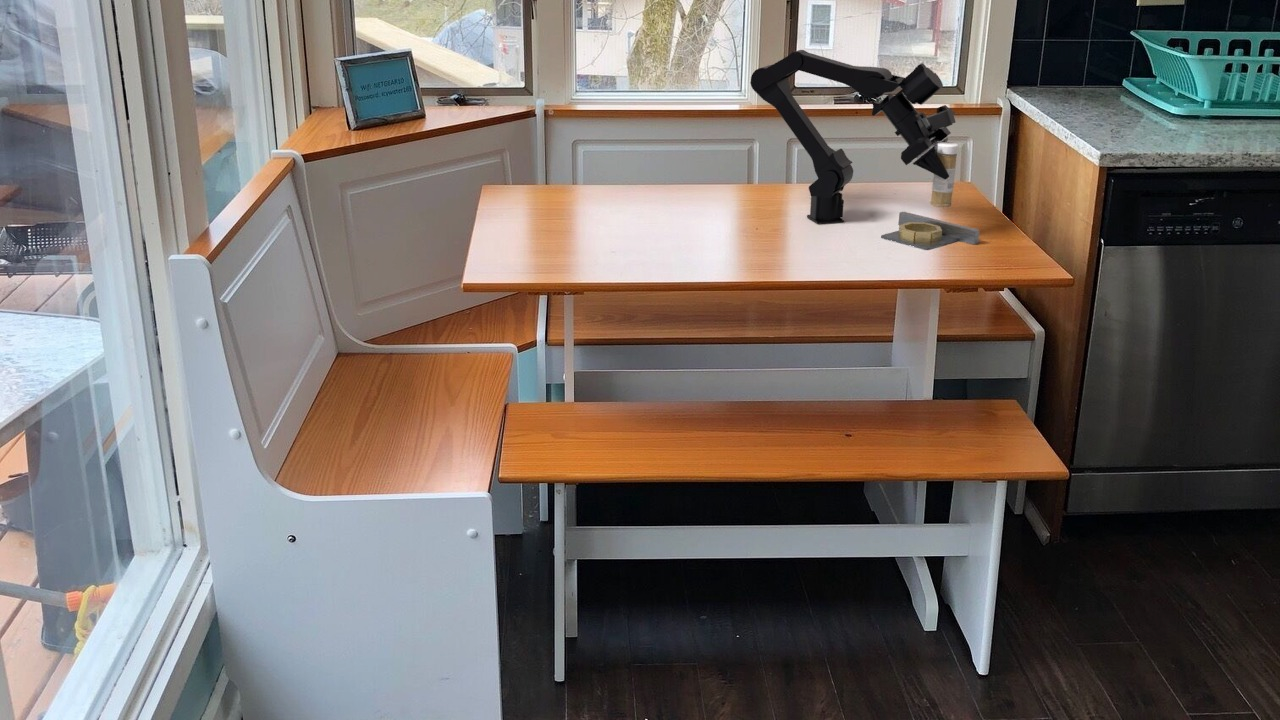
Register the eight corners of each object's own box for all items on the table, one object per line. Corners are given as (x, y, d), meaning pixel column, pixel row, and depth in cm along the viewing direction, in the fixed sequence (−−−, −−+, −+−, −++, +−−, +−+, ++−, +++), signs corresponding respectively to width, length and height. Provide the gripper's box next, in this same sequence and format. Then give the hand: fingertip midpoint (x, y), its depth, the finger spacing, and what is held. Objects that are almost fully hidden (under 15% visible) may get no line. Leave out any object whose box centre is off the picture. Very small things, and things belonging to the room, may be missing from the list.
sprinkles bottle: (941, 202, 263) (949, 140, 258) (955, 206, 260) (963, 144, 255) (925, 204, 261) (932, 142, 256) (939, 208, 258) (946, 146, 253)
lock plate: (866, 234, 263) (867, 220, 262) (902, 224, 271) (903, 211, 270) (942, 254, 249) (943, 240, 248) (978, 243, 257) (979, 229, 256)
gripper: (922, 100, 246) (969, 161, 245) (946, 88, 261) (990, 145, 261) (881, 134, 252) (927, 193, 252) (906, 120, 267) (950, 176, 267)
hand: (950, 176), depth 257 cm, fingers closed on sprinkles bottle, 4 cm apart
